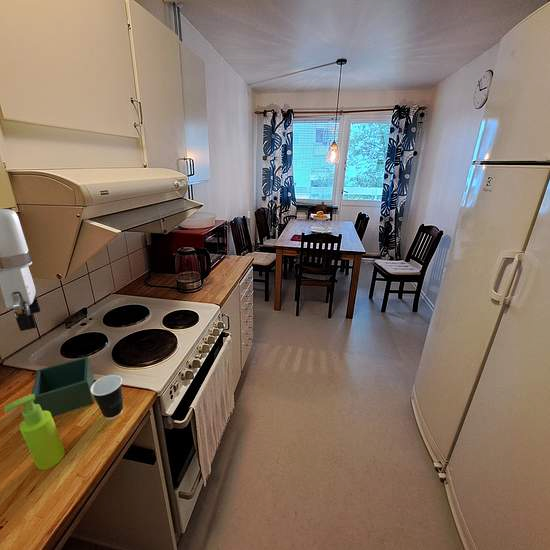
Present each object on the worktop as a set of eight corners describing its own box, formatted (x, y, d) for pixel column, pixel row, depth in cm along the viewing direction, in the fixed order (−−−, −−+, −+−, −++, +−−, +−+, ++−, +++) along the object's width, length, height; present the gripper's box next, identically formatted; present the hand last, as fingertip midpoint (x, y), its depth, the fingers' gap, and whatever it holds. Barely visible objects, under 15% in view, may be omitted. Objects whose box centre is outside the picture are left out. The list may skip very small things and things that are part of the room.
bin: (38, 421, 82) (29, 398, 79) (45, 390, 93) (37, 369, 90) (93, 403, 89) (87, 381, 85) (93, 376, 99) (88, 356, 96)
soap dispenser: (28, 461, 71) (1, 401, 64) (61, 443, 76) (39, 384, 69) (33, 478, 68) (5, 416, 60) (67, 457, 72) (45, 397, 65)
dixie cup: (105, 403, 89) (98, 375, 85) (132, 401, 89) (126, 373, 85) (93, 425, 81) (84, 395, 77) (122, 423, 82) (115, 394, 78)
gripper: (-1, 253, 75) (18, 310, 82) (-20, 274, 62) (6, 340, 68) (34, 249, 79) (51, 304, 85) (25, 268, 66) (45, 331, 72)
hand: (31, 320), depth 77 cm, fingers open, 9 cm apart
